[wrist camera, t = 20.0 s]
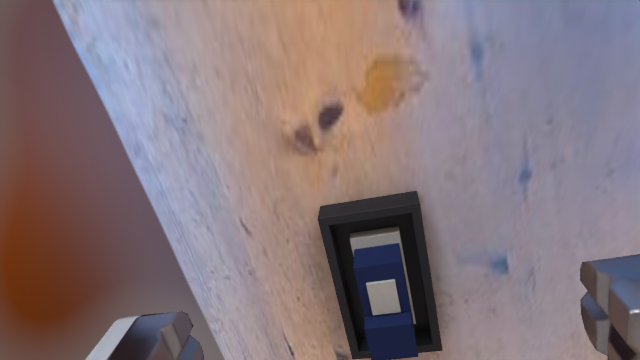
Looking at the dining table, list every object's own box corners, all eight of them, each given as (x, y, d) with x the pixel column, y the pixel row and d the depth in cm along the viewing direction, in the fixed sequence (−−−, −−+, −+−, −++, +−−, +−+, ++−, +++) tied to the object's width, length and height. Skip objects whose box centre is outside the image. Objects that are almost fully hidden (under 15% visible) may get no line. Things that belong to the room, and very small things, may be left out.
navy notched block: (414, 315, 44) (421, 360, 39) (369, 321, 45) (370, 365, 40) (398, 225, 41) (403, 261, 35) (350, 232, 41) (347, 268, 36)
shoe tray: (320, 206, 41) (317, 218, 39) (416, 190, 40) (419, 203, 37) (353, 341, 47) (352, 359, 44) (438, 332, 45) (442, 350, 43)
